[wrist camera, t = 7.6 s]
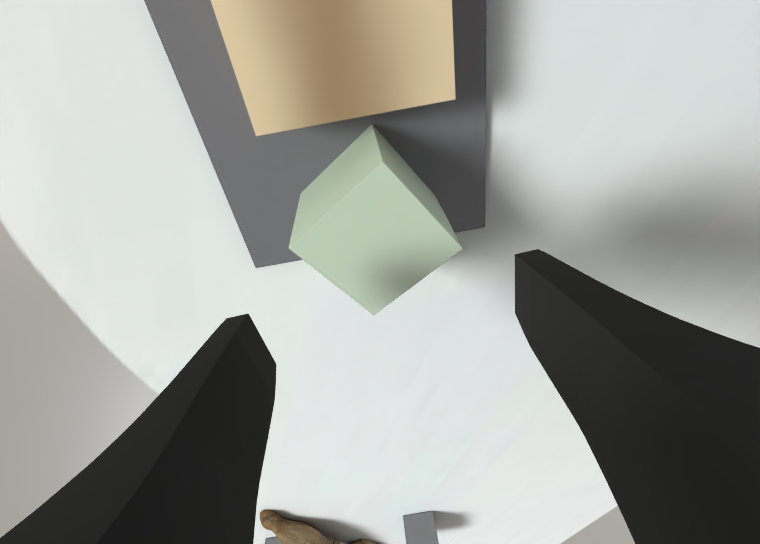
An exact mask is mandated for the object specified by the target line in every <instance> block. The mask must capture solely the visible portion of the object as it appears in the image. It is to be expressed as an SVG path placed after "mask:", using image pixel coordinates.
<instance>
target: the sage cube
mask: <svg viewBox="0 0 760 544" xmlns="http://www.w3.org/2000/svg"><path fill="white" fill-rule="evenodd" d="M289 249H290V250H291V251H293V252H294V253H295V254H296V255H298V256H299V257H300V258H302V259H303V260H304V261H305V262H307V263H308V264H309V265H310V266H312V267H313V268H314V269H316V270H317V271H318V272H319V273H321V274H322V275H323V276H324V277H326V278H327V279H328V280H329V281H331V282H332V283H333V284H335V285H336V286H337V287H338V288H340V289H341V290H342V291H343V292H345V293H346V294H347V295H349V296H350V297H351V298H352V299H354V300H355V301H356V302H357V303H359V304H360V305H361V306H363V307H364V308H365V309H366V310H368V311H369V312H370V313H371V314H373V315H375V314H376V313H378V312H379V311H380V310H382V309H383V308H384V307H386V306H387V305H388V304H390V303H391V302H392V301H394V300H395V299H396V298H398V297H399V296H400V295H402V294H403V293H404V292H406V291H407V290H408V289H410V288H411V287H412V286H414V285H415V284H416V283H418V282H419V281H420V280H422V279H423V278H424V277H426V276H427V275H428V274H430V273H431V272H432V271H434V270H435V269H436V268H438V267H439V266H440V265H442V264H443V263H444V262H446V261H447V260H448V259H450V258H451V257H452V256H454V255H455V254H456V253H458V252H459V251H460V250H462V249H463V248H462V246H461V244H460V242H459V240H458V238H457V236H456V235H455V233H454V231H453V229H452V227H451V225H450V223H449V221H448V219H447V217H446V215H445V213H444V212H443V210H442V208H441V206H440V204H439V202H438V200H437V198H436V196H435V195H434V194H433V193H432V191H431V190H430V189H429V188H428V187H427V186H426V185H425V183H424V182H423V181H422V180H421V179H420V178H419V177H418V176H417V174H416V173H415V172H414V171H413V170H412V169H411V168H410V166H409V165H408V164H407V163H406V162H405V161H404V160H403V159H402V157H401V156H400V155H399V154H398V153H397V152H396V151H395V149H394V148H393V147H392V146H391V145H390V144H389V143H388V142H387V140H386V139H385V138H384V137H383V136H382V135H381V134H380V132H379V131H378V130H377V129H376V128H375V127H374V126H373V125H372V124H371V125H370V126H369V127H368V128H367V129H366V130H365V131H364V132H363V133H362V134H361V135H360V136H359V137H358V138H357V139H356V140H355V141H354V142H353V143H352V144H351V145H350V146H349V147H348V148H347V149H346V150H345V151H344V152H343V153H342V154H341V155H340V156H338V157H337V158H336V159H335V160H334V161H333V162H332V163H331V164H330V165H329V166H328V167H327V168H326V169H325V170H324V171H323V172H322V173H321V174H320V175H319V176H318V177H317V178H316V179H315V180H314V181H313V182H312V183H311V184H310V185H309V186H308V187H307V188H306V189H305V190H304V191H302V192H301V194H300V199H299V203H298V208H297V212H296V217H295V221H294V226H293V230H292V235H291V239H290V244H289Z"/></svg>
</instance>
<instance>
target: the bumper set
mask: <svg viewBox="0 0 760 544" xmlns="http://www.w3.org/2000/svg"><path fill="white" fill-rule="evenodd" d="M403 520H404V528H405V536H406V544H439V542H438V537H437V532H436V526H435V521H434V515H433V511H429V512H423V513H417V514H411V515H405V516H403ZM265 544H281V542H280V540H279V539H278V537H273V538H267V539H266V540H265Z"/></svg>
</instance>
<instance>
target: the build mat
mask: <svg viewBox="0 0 760 544" xmlns="http://www.w3.org/2000/svg"><path fill="white" fill-rule="evenodd" d="M144 1H145V3H146V6H147V8H148V11H149V13H150V15H151V18H152V20H153V23H154V25H155V27H156V30H157V32H158V35H159V37H160V39H161V42H162V44H163V46H164V49H165V51H166V54H167V56H168V58H169V61H170V63H171V66H172V68H173V70H174V73H175V75H176V78H177V80H178V82H179V85H180V87H181V90H182V92H183V94H184V97H185V99H186V102H187V104H188V106H189V109H190V111H191V114H192V116H193V118H194V121H195V123H196V126H197V128H198V130H199V133H200V135H201V138H202V140H203V142H204V145H205V147H206V150H207V152H208V154H209V157H210V159H211V162H212V164H213V166H214V169H215V171H216V174H217V176H218V178H219V181H220V183H221V186H222V188H223V190H224V193H225V195H226V198H227V200H228V202H229V205H230V207H231V210H232V212H233V214H234V217H235V219H236V222H237V224H238V226H239V229H240V231H241V234H242V236H243V238H244V241H245V243H246V246H247V248H248V250H249V253H250V255H251V258H252V260H253V262H254V265H255V267H256V268H259V267H264V266H270V265H276V264H281V263H287V262H292V261H298V260H303V259H302V258H300V257H299V256H298V255H296V254H295V253H294V252H293V251H291V250H290V249H289V244H290V239H291V235H292V230H293V226H294V221H295V217H296V212H297V208H298V203H299V199H300V194H301V192H302V191H304V190H305V189H306V188H307V187H308V186H309V185H310V184H311V183H312V182H313V181H314V180H315V179H316V178H317V177H318V176H319V175H320V174H321V173H322V172H323V171H324V170H325V169H326V168H327V167H328V166H329V165H330V164H331V163H332V162H333V161H334V160H335V159H336V158H337V157H338V156H340V155H341V154H342V153H343V152H344V151H345V150H346V149H347V148H348V147H349V146H350V145H351V144H352V143H353V142H354V141H355V140H356V139H357V138H358V137H359V136H360V135H361V134H362V133H363V132H364V131H365V130H366V129H367V128H368V127H369V126H370V125H371V124H372V125H373V126H374V127H375V128H376V129H377V130H378V131H379V132H380V134H381V135H382V136H383V137H384V138H385V139H386V140H387V142H388V143H389V144H390V145H391V146H392V147H393V148H394V149H395V151H396V152H397V153H398V154H399V155H400V156H401V157H402V159H403V160H404V161H405V162H406V163H407V164H408V165H409V166H410V168H411V169H412V170H413V171H414V172H415V173H416V174H417V176H418V177H419V178H420V179H421V180H422V181H423V182H424V183H425V185H426V186H427V187H428V188H429V189H430V190H431V191H432V193H433V194H434V195H435V196H436V198H437V200H438V202H439V204H440V206H441V208H442V210H443V212H444V213H445V215H446V217H447V219H448V221H449V223H450V225H451V227H452V229H453V231H454V233H455V232H460V231H466V230H471V229H477V228H483V227H485V96H486V0H452V17H453V44H454V71H455V98H456V99H455V100H449V101H444V102H438V103H433V104H428V105H422V106H417V107H411V108H406V109H401V110H395V111H390V112H384V113H379V114H374V115H368V116H363V117H357V118H352V119H346V120H341V121H336V122H330V123H325V124H319V125H314V126H309V127H303V128H298V129H292V130H287V131H281V132H276V133H271V134H265V135H260V136H256V135H255V132H254V129H253V126H252V123H251V120H250V117H249V114H248V111H247V108H246V105H245V102H244V99H243V96H242V93H241V90H240V87H239V84H238V81H237V78H236V75H235V72H234V69H233V66H232V63H231V60H230V57H229V54H228V51H227V48H226V45H225V42H224V39H223V36H222V33H221V30H220V27H219V24H218V21H217V18H216V15H215V12H214V9H213V6H212V3H211V0H144Z"/></svg>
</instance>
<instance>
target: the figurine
mask: <svg viewBox="0 0 760 544" xmlns="http://www.w3.org/2000/svg"><path fill="white" fill-rule="evenodd" d="M260 520H261V524H262V525H263V527H264V528H265V529H268V530H271V531H273V532H274V533H275V534H276V536H277V537H278V539H279V540H280V542H281V544H340V542H339V541H338V540H336V539H334V541H333V542H329V541H328V540H327V539H326V538H325V537H324V536H323V535H322V534H321V533H320V532H319V531H318V530H316V529H315V528H313V527H311V526H309V525H307V524H305V523H303V522H297V521H290V520H286V519H283V518H282V517H280V516H279V515H278V514H277V513H276V512H274V511H272V510H263V511H261V512H260ZM352 544H378V543H375V542H373V541H370V540H359V541H356V542H354V543H352Z"/></svg>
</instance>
